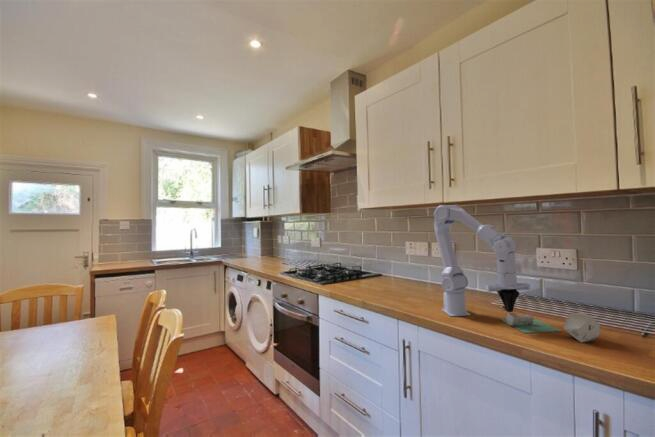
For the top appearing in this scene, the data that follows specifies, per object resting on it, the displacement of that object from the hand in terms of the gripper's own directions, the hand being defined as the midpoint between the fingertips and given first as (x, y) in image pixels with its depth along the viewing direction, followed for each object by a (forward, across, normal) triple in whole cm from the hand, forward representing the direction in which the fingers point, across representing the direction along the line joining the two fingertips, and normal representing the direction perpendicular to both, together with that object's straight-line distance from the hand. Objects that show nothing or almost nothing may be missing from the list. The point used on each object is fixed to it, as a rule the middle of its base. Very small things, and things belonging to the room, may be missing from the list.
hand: (509, 311), depth 106 cm
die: (+6, +14, -14) cm, 20 cm away
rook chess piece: (+3, 0, 0) cm, 3 cm away
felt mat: (+5, +7, 0) cm, 8 cm away
